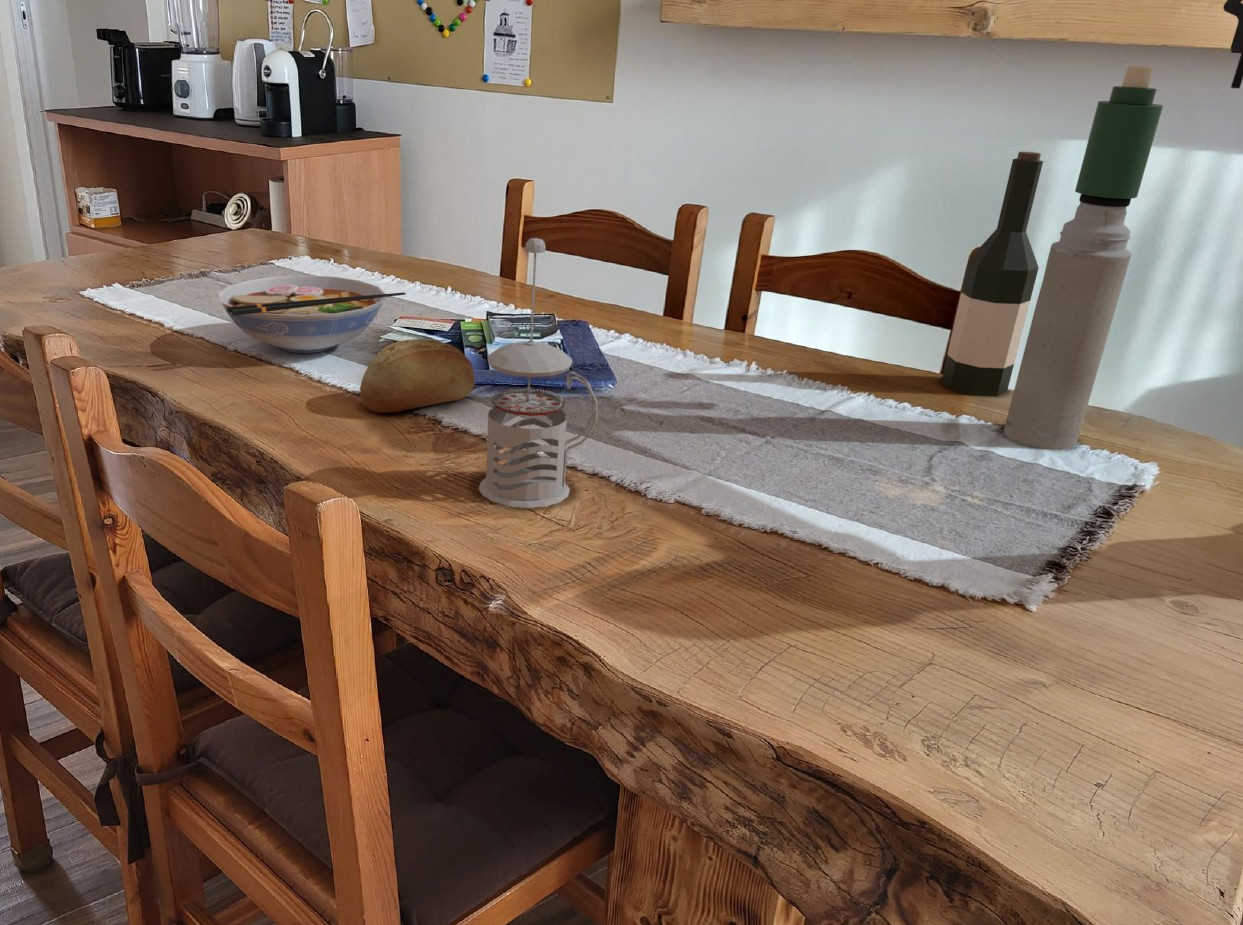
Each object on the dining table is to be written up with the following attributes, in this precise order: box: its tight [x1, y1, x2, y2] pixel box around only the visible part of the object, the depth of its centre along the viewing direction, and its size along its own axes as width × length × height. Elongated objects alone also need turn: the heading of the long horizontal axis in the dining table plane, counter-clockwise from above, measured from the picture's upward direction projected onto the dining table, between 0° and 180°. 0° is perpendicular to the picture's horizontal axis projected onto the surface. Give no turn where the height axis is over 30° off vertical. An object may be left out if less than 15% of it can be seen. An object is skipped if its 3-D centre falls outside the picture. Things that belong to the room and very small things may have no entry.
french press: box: [478, 237, 599, 509], centre depth 103 cm, size 10×12×25 cm
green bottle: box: [1074, 65, 1164, 199], centre depth 112 cm, size 6×6×12 cm
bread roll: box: [359, 338, 476, 414], centre depth 129 cm, size 10×15×8 cm, turn 124°
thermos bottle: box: [1003, 194, 1132, 451], centre depth 122 cm, size 8×8×28 cm
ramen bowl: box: [217, 274, 407, 354], centre depth 149 cm, size 25×23×8 cm
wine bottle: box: [940, 151, 1044, 398], centre depth 138 cm, size 8×8×30 cm
